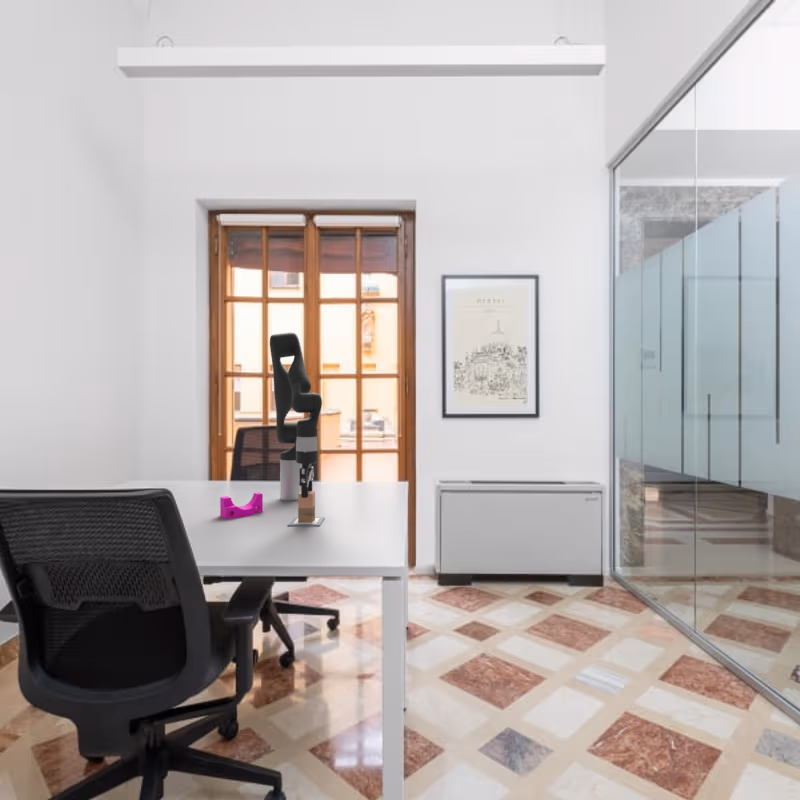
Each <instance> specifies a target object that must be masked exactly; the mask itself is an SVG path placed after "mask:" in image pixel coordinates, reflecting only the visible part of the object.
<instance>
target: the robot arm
mask: <svg viewBox="0 0 800 800" xmlns="http://www.w3.org/2000/svg"><path fill="white" fill-rule="evenodd" d="M269 349H270V350H269V351H270V355H271V356H270V357H271V364H272V372H273V375H272V376H273V393H274V394H273V395H274V403H275V410H276V411H275V412H276V415H275V416H276V417H275V420H276V428H275V429H276V438H277V442H278V443H279V444H294V445H293V447H291V448H289V449H287V450H285V451H282V452H281V453H280V455H279V457H280V458H279V459H280V460H279V467H280V469H279V470H280V471H279V474H280V475H279V477H280V478H279V479H280V480H279V482H280V483H279V487H280V488H279V491H280V492H279V495H280V496H279V497H280V501H289V502H290V501H298V494H299V493H300V492H301V497H302V498H307V497H308V491H313V482H314V479H315V471H314V469H315V467H314V466H315V464H317V462H318V460H319V459H318V458H319V457H318V453H319V450H318V442H319V441H318V421H319V416H320V413H321V409H322V406H323V399H322V397H321V395H320V394H319V392H318V393H317V392H311V390H312V389H311V388H312V385H311V382H310V379H309V376H308V373H307V372H306V366H305V360H304V357H303V351H302V347H301V343H300V339H299V337H298V335H297V333H295V332H283V333H275V334H271V335H270V337H269ZM288 357H293V360H292V362H291V365H290V366H289V369H288V370H287V369H286V368H285V366H284V365H283V363H282V362H281V359H282V358H288ZM291 409H292V410H294V412H296V413H298V414H303V413H307V414H308V416H307V418H303V419H300V420H298V421H285V420H286V417H287V415H288V414H289V412H290V411H291Z"/></svg>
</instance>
